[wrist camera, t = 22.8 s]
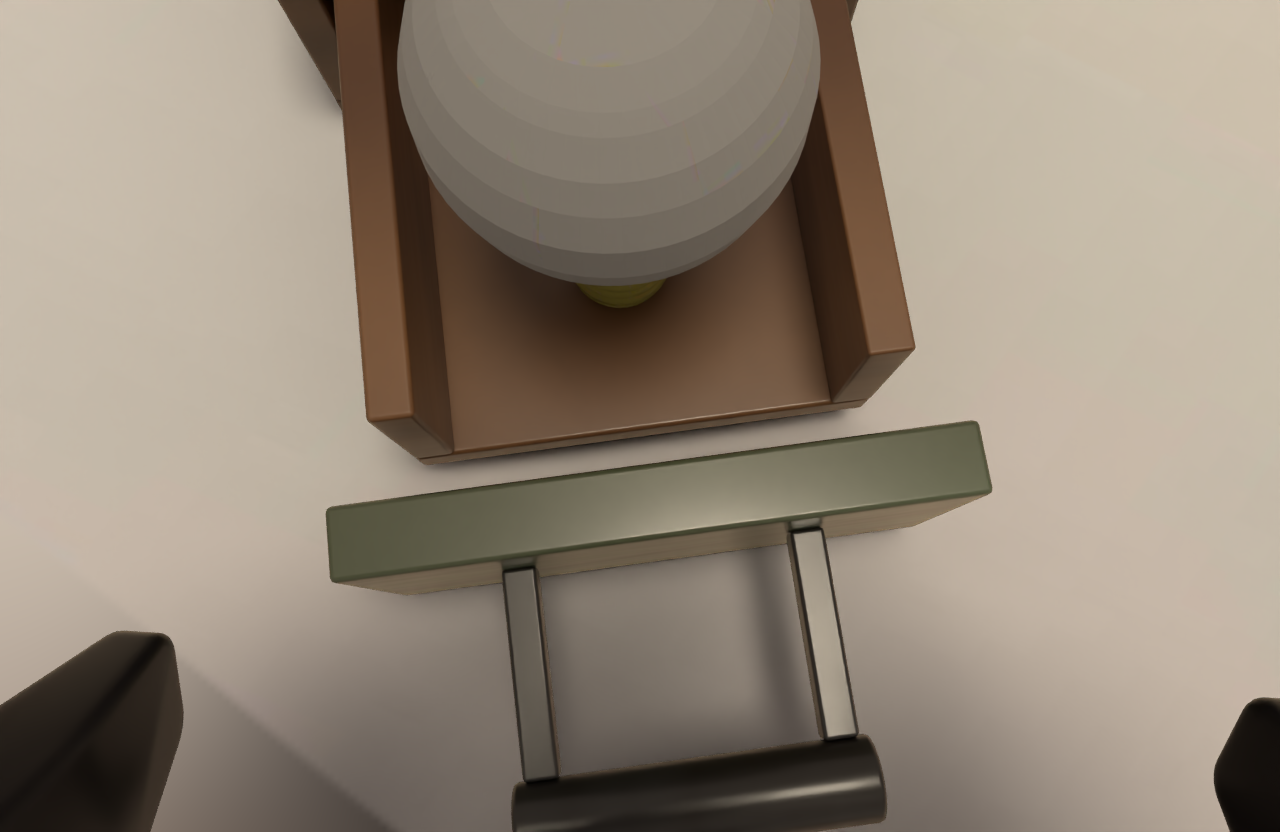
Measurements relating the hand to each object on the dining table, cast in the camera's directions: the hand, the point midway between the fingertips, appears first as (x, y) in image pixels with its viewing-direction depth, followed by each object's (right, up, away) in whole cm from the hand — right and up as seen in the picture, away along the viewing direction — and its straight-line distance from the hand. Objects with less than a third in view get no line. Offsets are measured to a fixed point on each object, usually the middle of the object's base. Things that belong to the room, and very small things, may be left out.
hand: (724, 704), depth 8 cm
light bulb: (-1, +5, +12) cm, 13 cm away
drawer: (-1, +4, +13) cm, 13 cm away
